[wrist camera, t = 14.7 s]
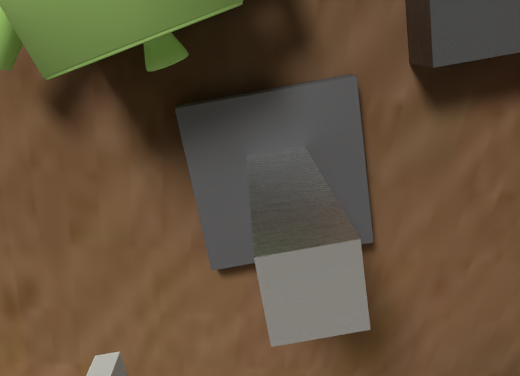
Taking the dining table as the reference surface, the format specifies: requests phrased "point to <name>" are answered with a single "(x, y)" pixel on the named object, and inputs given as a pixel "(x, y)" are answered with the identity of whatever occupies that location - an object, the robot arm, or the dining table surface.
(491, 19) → the grey block with hole
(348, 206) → the rubber mat
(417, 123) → the dining table surface
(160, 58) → the green block with pegs
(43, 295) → the dining table surface
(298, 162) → the steel peg
